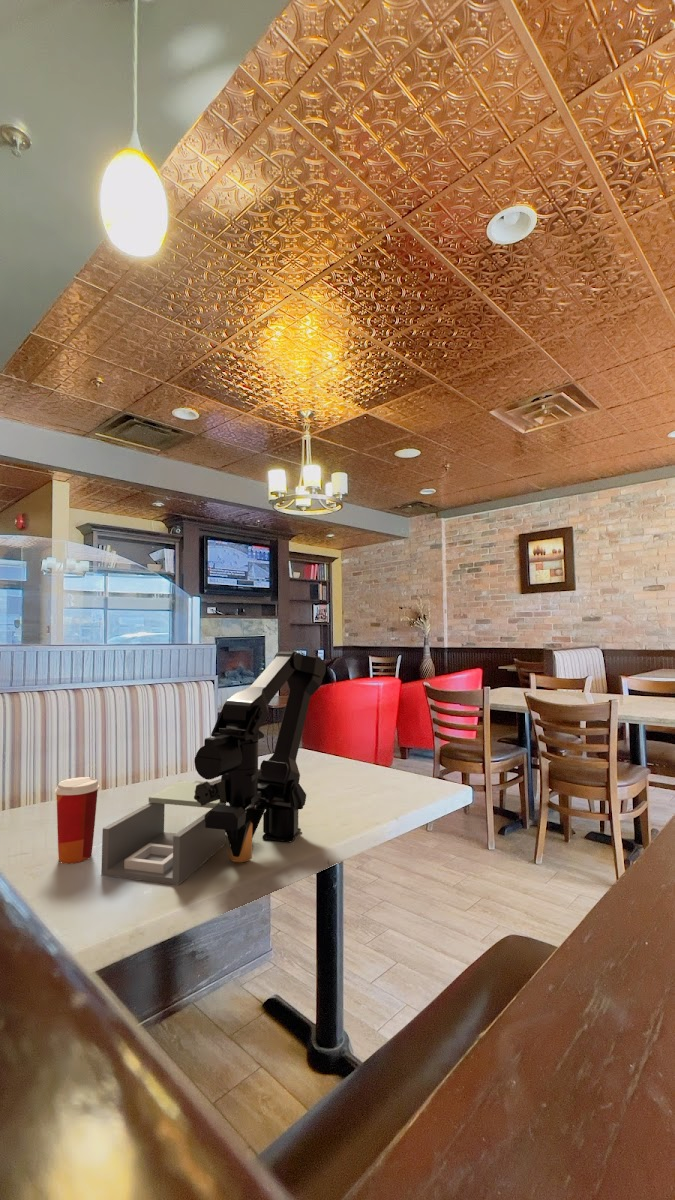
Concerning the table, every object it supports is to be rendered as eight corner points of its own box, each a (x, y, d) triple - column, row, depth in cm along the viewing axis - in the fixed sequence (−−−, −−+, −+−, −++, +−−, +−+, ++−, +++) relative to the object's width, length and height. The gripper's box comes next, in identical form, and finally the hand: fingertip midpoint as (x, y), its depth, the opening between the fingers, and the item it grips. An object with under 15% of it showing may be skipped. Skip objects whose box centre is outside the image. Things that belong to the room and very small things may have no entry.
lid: (243, 798, 117) (243, 784, 117) (216, 819, 105) (217, 803, 105) (181, 793, 121) (181, 779, 121) (148, 812, 108) (148, 797, 108)
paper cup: (85, 845, 107) (88, 774, 107) (105, 856, 102) (107, 781, 103) (44, 858, 101) (47, 782, 101) (62, 870, 96) (65, 790, 97)
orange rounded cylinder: (255, 854, 101) (255, 821, 102) (246, 863, 97) (247, 829, 98) (235, 851, 102) (236, 819, 102) (226, 860, 98) (227, 827, 99)
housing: (225, 843, 108) (226, 803, 109) (178, 885, 91) (179, 836, 91) (158, 836, 112) (159, 797, 112) (101, 875, 94) (102, 828, 95)
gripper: (224, 752, 112) (223, 829, 111) (177, 776, 93) (175, 868, 93) (275, 755, 109) (274, 834, 108) (237, 781, 91) (235, 875, 90)
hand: (241, 851), depth 100 cm, fingers closed on orange rounded cylinder, 4 cm apart
